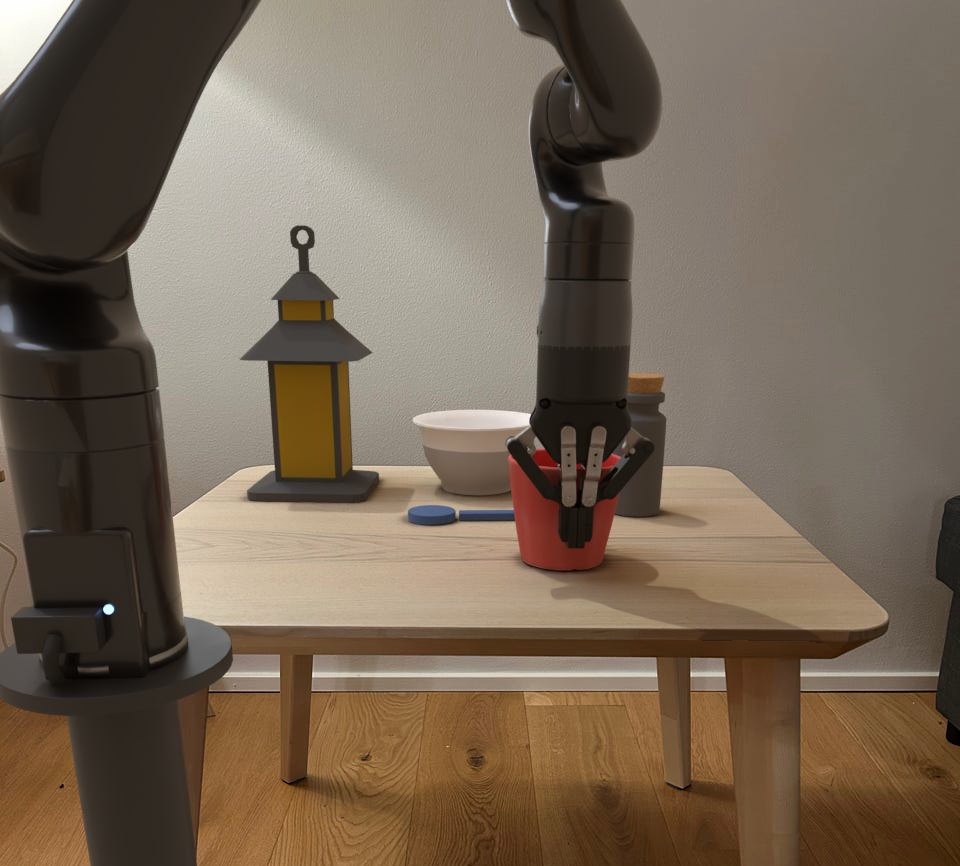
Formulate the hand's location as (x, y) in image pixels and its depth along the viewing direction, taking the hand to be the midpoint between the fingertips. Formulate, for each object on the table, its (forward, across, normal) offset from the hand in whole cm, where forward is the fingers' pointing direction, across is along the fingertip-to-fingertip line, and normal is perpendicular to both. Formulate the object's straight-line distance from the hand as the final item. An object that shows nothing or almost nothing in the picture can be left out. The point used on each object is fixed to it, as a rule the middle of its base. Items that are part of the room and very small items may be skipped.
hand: (574, 546), depth 85 cm
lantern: (+3, -26, +38) cm, 47 cm away
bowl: (+3, -6, +38) cm, 39 cm away
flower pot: (+3, 0, +6) cm, 7 cm away
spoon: (+3, -6, +23) cm, 23 cm away
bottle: (+3, +11, +26) cm, 28 cm away
